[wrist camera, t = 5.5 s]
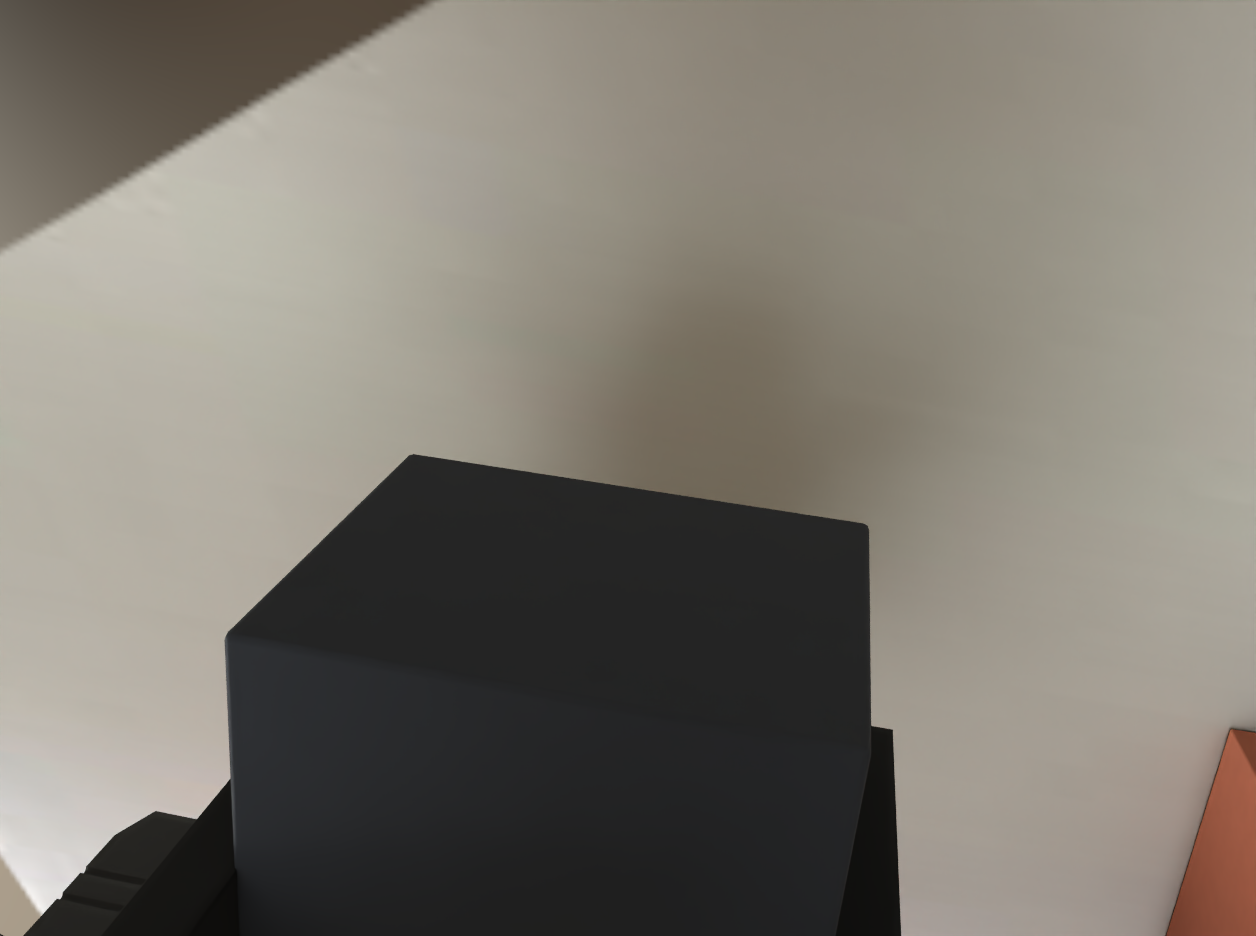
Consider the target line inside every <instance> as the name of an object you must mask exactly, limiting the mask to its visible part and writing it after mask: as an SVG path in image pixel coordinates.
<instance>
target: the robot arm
mask: <svg viewBox="0 0 1256 936" xmlns="http://www.w3.org/2000/svg"><path fill="white" fill-rule="evenodd" d="M0 936H3V935H1V934H0ZM24 936H239V918H238V895H237V872H236V869H235V865H234V842H233V819H232V796H231V779H230V780H229V781H228V782H227V784H226V785H225V786H224V787H223V788H222V790H221V791H220V792H219V793H218V795H217V796H216V797H215V798H214V799H213V801H212V802H211V803H210V804H209V805H208V807H207V808H206V809H205V810H204V811H203V813H202V814H201V815H200V816H199V818H198V819H192V818H187V817H182V816H177V815H172V814H167V813H162V812H157V811H155V812H153V813H152V814H150V815H148V816H147V817H145V818H143V819H141V820H140V821H138V822H136V823H135V824H133V825H131V826H130V827H128V828H126V829H125V830H123V831H121V832H119V833H118V834H116V835H115V836H114V837H113V838H112V839H111V840H110V841H109V842H108V843H107V844H106V845H105V847H104V848H103V849H102V850H101V851H100V852H99V853H98V854H97V855H96V856H95V858H94V859H93V860H92V861H91V862H90V863H89V864H88V865H87V866H86V870H85V872H84V874H83V873H80V874H79V875H78V876H77V877H76V878H75V880H74V881H73V882H72V883H71V884H70V885H69V886H68V887H67V888H66V889H65V891H64V892H63V895H62V898H61V899H56V900H55V902H54V903H53V904H52V905H51V906H50V907H49V908H48V909H47V910H46V911H45V913H44V914H43V915H42V916H41V917H40V918H39V919H38V920H37V921H36V922H35V924H34V925H33V926H32V927H31V928H30V929H29V930H28V931H27V932H26V933H25V935H24ZM836 936H901V922H900V898H899V874H898V849H897V825H896V801H895V777H894V753H893V730H891V729H885V728H880V727H874V726H871V758H870V763H869V768H868V773H867V778H866V783H865V788H864V794H863V799H862V804H861V809H860V814H859V819H858V824H857V829H856V834H855V839H854V844H853V850H852V855H851V860H850V865H849V870H848V875H847V880H846V885H845V890H844V895H843V900H842V905H841V911H840V916H839V921H838V926H837V931H836Z"/></svg>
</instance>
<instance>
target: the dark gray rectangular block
mask: <svg viewBox="0 0 1256 936" xmlns="http://www.w3.org/2000/svg"><path fill="white" fill-rule="evenodd" d="M225 658H226V681H227V704H228V727H229V750H230V773H231V796H232V819H233V842H234V865H235V869H236V872H237V895H238V918H239V936H836V931H837V926H838V921H839V916H840V911H841V905H842V900H843V895H844V890H845V885H846V880H847V875H848V870H849V865H850V860H851V855H852V850H853V844H854V839H855V834H856V829H857V824H858V819H859V814H860V809H861V804H862V799H863V794H864V788H865V783H866V778H867V773H868V768H869V763H870V758H871V677H870V579H869V529H868V526H867V525H865V524H863V523H857V522H850V521H844V520H837V519H831V518H824V517H818V516H811V515H805V514H798V513H792V512H785V511H779V510H772V509H766V508H759V507H753V506H746V505H740V504H733V503H727V502H720V501H714V500H707V499H701V498H694V497H688V496H681V495H675V494H668V493H662V492H655V491H649V490H642V489H636V488H629V487H623V486H616V485H610V484H603V483H597V482H590V481H584V480H577V479H571V478H564V477H558V476H551V475H545V474H538V473H532V472H525V471H519V470H512V469H506V468H499V467H493V466H486V465H480V464H473V463H467V462H460V461H454V460H447V459H441V458H434V457H428V456H421V455H415V454H413V455H409V456H408V457H407V458H406V459H405V460H404V461H403V462H402V463H401V464H400V465H399V466H398V467H397V468H396V469H395V470H394V471H393V472H392V473H391V474H390V475H389V476H388V477H387V478H386V479H385V480H384V481H382V482H381V483H380V484H379V485H378V486H377V487H376V488H375V489H374V490H373V491H372V492H371V493H370V494H369V495H368V496H367V497H366V498H365V499H364V500H363V501H362V502H361V503H360V504H359V505H358V506H357V507H356V508H355V509H354V510H353V511H352V512H351V513H350V514H349V515H348V516H347V517H346V518H345V519H344V520H343V521H341V522H340V523H339V524H338V525H337V526H336V527H335V528H334V529H333V530H332V531H331V532H330V533H329V534H328V535H327V536H326V537H325V538H324V539H323V540H322V541H321V542H320V543H319V544H318V545H317V546H316V547H315V548H314V549H313V550H312V551H311V552H310V553H309V554H308V555H307V556H306V557H305V558H304V559H303V560H302V561H300V562H299V563H298V564H297V565H296V566H295V567H294V568H293V569H292V570H291V571H290V572H289V573H288V574H287V575H286V576H285V577H284V578H283V579H282V580H281V581H280V582H279V583H278V584H277V585H276V586H275V587H274V588H273V589H272V590H271V591H270V592H269V593H268V594H267V595H266V596H265V597H264V598H263V599H262V600H261V601H260V602H258V603H257V604H256V605H255V606H254V607H253V608H252V609H251V610H250V611H249V612H248V613H247V614H246V615H245V616H244V617H243V618H242V619H241V620H240V621H239V622H238V623H237V624H236V625H235V626H234V627H233V628H232V629H231V630H230V631H229V632H228V633H227V635H226V637H225Z"/></svg>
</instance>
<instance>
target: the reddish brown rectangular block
mask: <svg viewBox="0 0 1256 936" xmlns="http://www.w3.org/2000/svg"><path fill="white" fill-rule="evenodd" d="M1166 936H1256V733H1252V732H1246V731H1240V730H1234V729H1231V730H1230V733H1229V736H1228V739H1227V742H1226V746H1225V749H1224V752H1223V755H1222V758H1221V762H1220V765H1219V768H1218V771H1217V775H1216V778H1215V781H1214V784H1213V787H1212V791H1211V794H1210V797H1209V800H1208V803H1207V807H1206V810H1205V813H1204V816H1203V820H1202V823H1201V826H1200V829H1199V832H1198V836H1197V839H1196V842H1195V845H1194V848H1193V852H1192V855H1191V858H1190V861H1189V865H1188V868H1187V871H1186V874H1185V877H1184V881H1183V884H1182V887H1181V890H1180V894H1179V897H1178V900H1177V903H1176V906H1175V910H1174V913H1173V916H1172V919H1171V922H1170V926H1169V929H1168V932H1167V935H1166Z"/></svg>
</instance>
